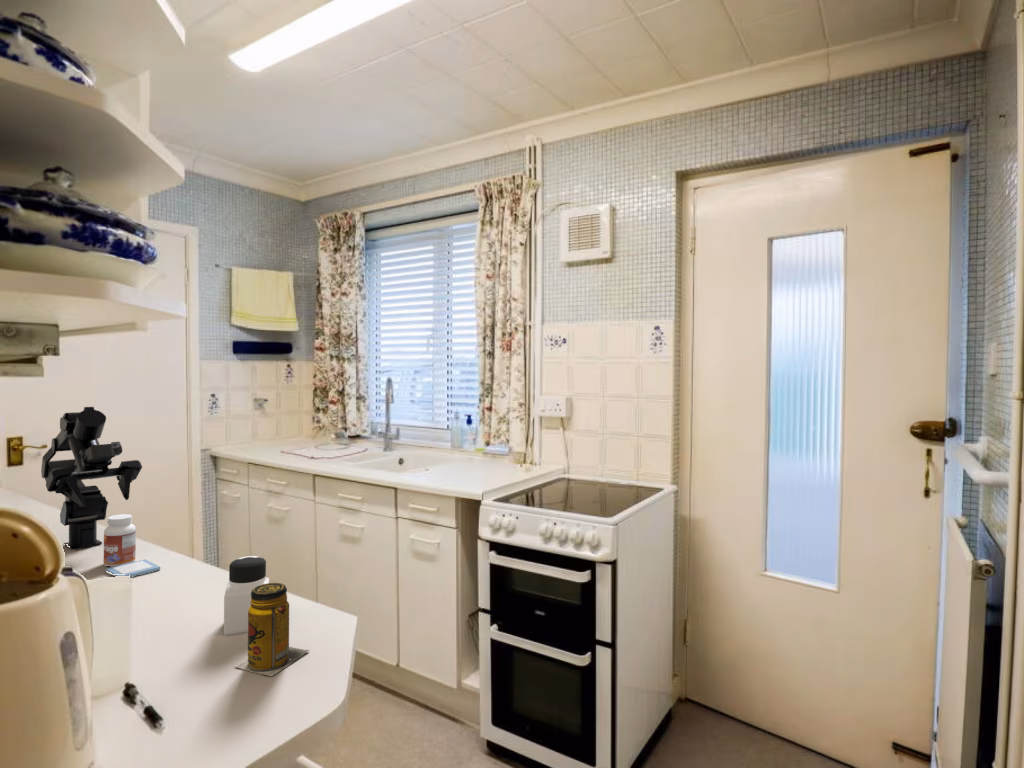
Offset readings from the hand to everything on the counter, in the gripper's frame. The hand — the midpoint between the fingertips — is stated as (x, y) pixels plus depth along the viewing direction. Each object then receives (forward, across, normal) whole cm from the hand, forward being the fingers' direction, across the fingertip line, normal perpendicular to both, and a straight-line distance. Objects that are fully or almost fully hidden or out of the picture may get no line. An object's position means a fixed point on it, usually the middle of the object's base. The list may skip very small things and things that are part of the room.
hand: (106, 502), depth 136 cm
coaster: (+20, 0, -2) cm, 20 cm away
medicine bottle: (+52, 0, -34) cm, 62 cm away
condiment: (+63, -5, -44) cm, 77 cm away
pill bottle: (+15, 0, +4) cm, 16 cm away
